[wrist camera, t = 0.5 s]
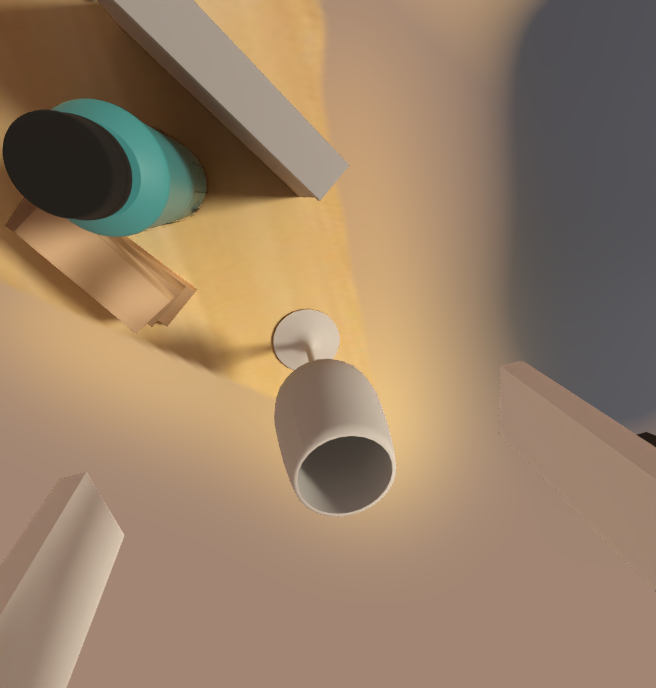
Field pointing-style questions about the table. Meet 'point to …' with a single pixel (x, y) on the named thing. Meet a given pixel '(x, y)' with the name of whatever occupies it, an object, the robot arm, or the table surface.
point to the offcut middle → (165, 278)
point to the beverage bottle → (102, 168)
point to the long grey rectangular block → (231, 90)
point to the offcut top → (97, 267)
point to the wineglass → (329, 421)
